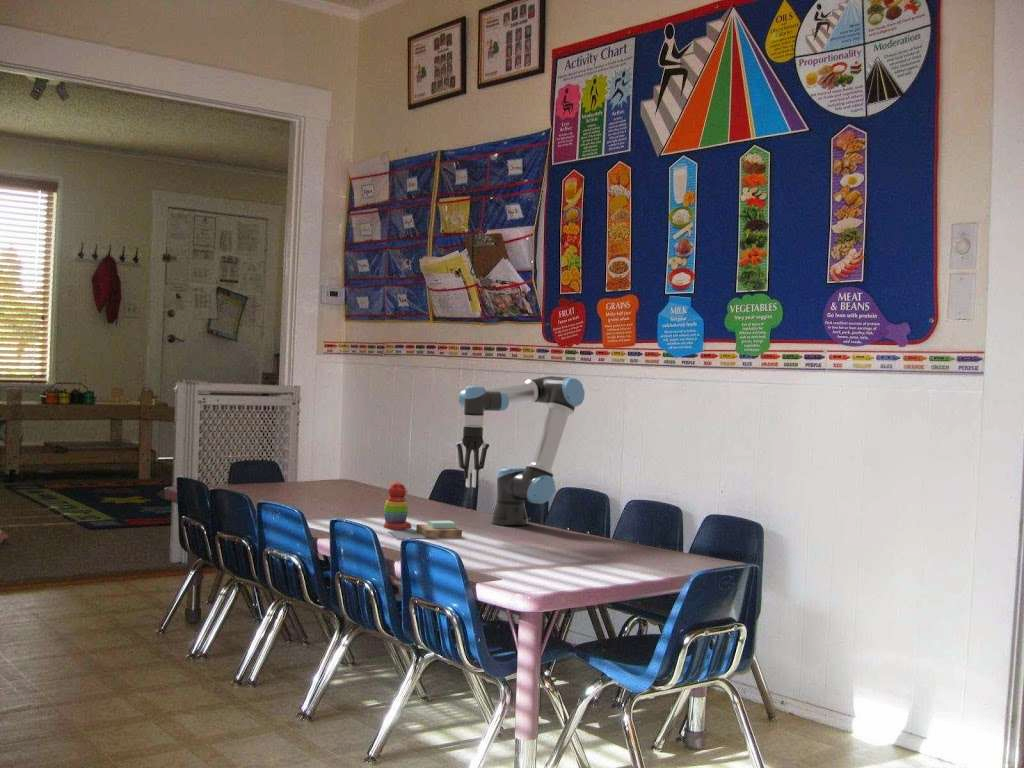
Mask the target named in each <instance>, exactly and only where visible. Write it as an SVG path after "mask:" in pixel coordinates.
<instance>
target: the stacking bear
mask: <svg viewBox="0 0 1024 768" xmlns="http://www.w3.org/2000/svg"><path fill="white" fill-rule="evenodd" d="M407 494H408V489H407V488H406V487H405V486H404V484H403V483H402V482H399V481H397V482H393V483H391V484H390V485H389V487H388V495H389V497H387V499H386V500H385V503H384V508H383V516H384V520H385V521H384V524H383V528H384V529H388V528H389V530H395V531H406V529H407V528H411V527H412V524H411V523H410V522H409V521H407V517H408V511H409V509H408V503H407V499H406V497H405V496H407Z"/></svg>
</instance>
